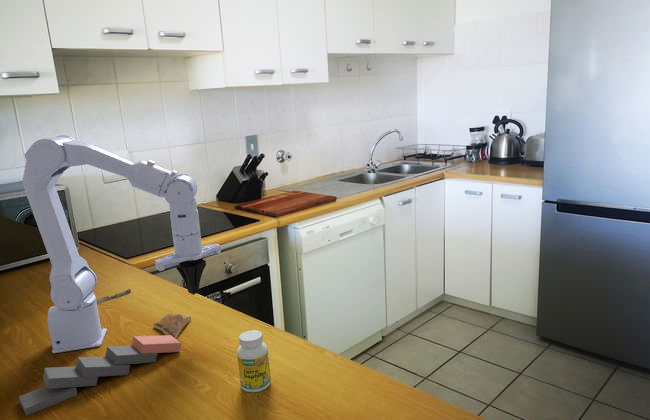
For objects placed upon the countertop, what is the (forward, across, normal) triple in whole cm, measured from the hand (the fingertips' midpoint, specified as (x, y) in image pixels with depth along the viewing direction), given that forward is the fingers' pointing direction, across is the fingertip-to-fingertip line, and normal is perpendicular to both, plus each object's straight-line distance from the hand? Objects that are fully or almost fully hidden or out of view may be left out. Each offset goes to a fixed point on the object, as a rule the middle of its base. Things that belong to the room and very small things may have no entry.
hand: (193, 292), depth 108 cm
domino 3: (+8, -18, -4) cm, 20 cm away
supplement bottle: (+9, -4, -27) cm, 29 cm away
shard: (+10, -2, +5) cm, 11 cm away
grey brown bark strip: (+10, -6, +35) cm, 37 cm away
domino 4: (+8, -12, -3) cm, 15 cm away
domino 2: (+9, -27, -3) cm, 29 cm away
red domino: (+8, -7, -3) cm, 11 cm away
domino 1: (+8, -23, -3) cm, 25 cm away
